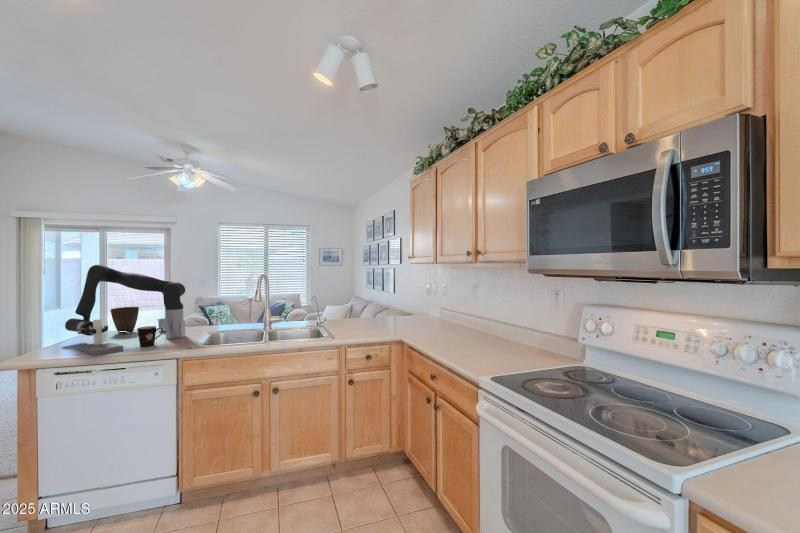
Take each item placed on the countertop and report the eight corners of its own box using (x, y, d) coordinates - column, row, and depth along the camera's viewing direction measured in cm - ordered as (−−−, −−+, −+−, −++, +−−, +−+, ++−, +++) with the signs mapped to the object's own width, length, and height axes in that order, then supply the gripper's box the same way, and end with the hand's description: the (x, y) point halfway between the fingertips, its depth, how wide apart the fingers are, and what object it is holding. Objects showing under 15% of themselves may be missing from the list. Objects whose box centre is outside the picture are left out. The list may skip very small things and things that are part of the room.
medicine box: (164, 332, 240) (163, 319, 240) (158, 332, 241) (158, 318, 241) (174, 330, 248) (173, 317, 248) (168, 329, 249) (168, 317, 248)
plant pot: (106, 335, 230) (105, 310, 230) (117, 331, 245) (116, 307, 244) (134, 334, 234) (133, 309, 234) (143, 329, 249) (142, 306, 248)
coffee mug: (136, 348, 196) (135, 329, 196) (139, 345, 204) (138, 327, 204) (162, 345, 202) (161, 327, 202) (163, 342, 209) (163, 325, 209)
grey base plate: (80, 350, 193) (80, 345, 193) (108, 345, 203) (107, 341, 203) (94, 355, 182) (94, 350, 182) (123, 350, 192) (123, 345, 192)
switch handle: (93, 344, 194) (93, 320, 194) (100, 343, 197) (100, 319, 196) (95, 345, 193) (94, 320, 192) (102, 344, 195) (101, 319, 195)
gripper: (71, 323, 197) (82, 326, 187) (103, 319, 208) (115, 322, 199) (71, 337, 197) (83, 340, 187) (103, 332, 208) (116, 335, 199)
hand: (99, 331), depth 193 cm, fingers closed on switch handle, 3 cm apart
